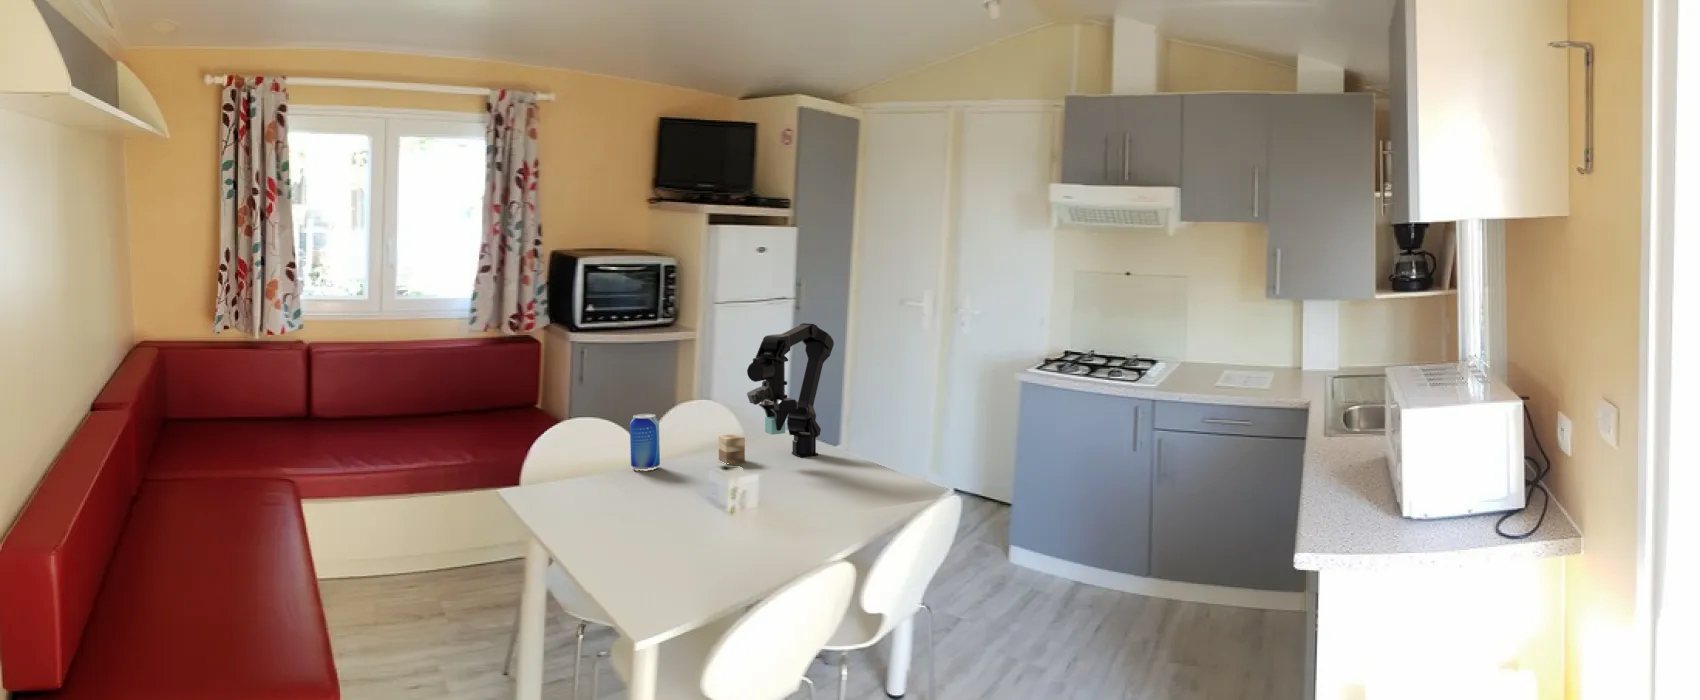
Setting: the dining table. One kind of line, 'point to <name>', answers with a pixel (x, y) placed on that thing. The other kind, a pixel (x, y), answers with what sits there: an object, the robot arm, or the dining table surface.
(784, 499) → the dining table surface
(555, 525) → the dining table surface
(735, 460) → the tower base
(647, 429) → the beer can
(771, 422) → the teal cube
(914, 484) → the dining table surface
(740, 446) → the tower top
